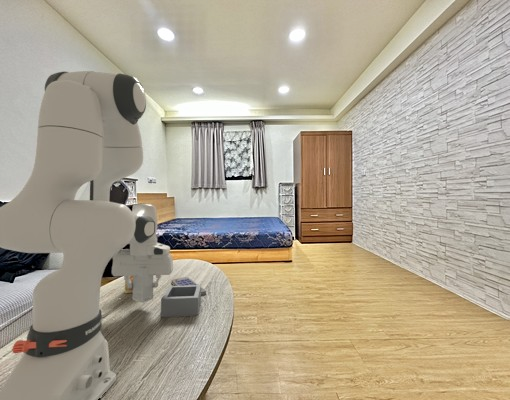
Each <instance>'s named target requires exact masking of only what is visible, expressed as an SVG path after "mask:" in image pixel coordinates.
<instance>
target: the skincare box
mask: <svg viewBox="0 0 510 400" xmlns="http://www.w3.org/2000/svg"><path fill="white" fill-rule="evenodd" d="M153 282H154V275H149V274H148V267H139V275H138V276H133V292H132V300H133V301H136V302H139V303H142V304H144V303H146V302H149V301H151V300H153V299H154V288H153Z"/></svg>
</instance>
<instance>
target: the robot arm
mask: <svg viewBox="0 0 510 400" xmlns="http://www.w3.org/2000/svg"><path fill="white" fill-rule="evenodd" d="M146 97H147V96H146V94H145V90H144V88H143V85H142V84H141V82H140V81H139V80H138V79H137V78H136V77H134V76H133V75H129V74H126V73H117V74H116V73H111V72H110V73H109V72H100V71H98V72H97V71H93V70H87V71H86V70H85V71H84V70H83V71H82V70H81V71H79V70H78V71H71V72H69V71H59V72H55V73H52V74H50V75H49V76H48V77H47V79H46V81H45V84H44V94H43V96H42V99H41V104H40V107H39V114H38V123H37V124H38V125H37V138H36V149H35V157H34V159H35V160H34V165H33V169H32V172H31V174H30V177H29V178H28V180H27V182H26V184H25V185H24V187H23V188H22V189H21V191H20V192H19V193H18V194H17V195H16V196H15V197H14V198H13V199H11V200H10V201H8V202H7V203H5V204H3V205H1V206H0V248H1V249H4V250H9V251H13V252H19V253H27V254H54V253H55V254H56V253H57V254H59V253H61V254H63V257H62V258H63V259H62V263H61V266H60V267H59V268H58V269H57V270H54V271H52V272H50V273H48V274H47V275H46V276H44V277H43V278H41V279H40V280H39V281H38V282H37V284H36V285H35V287H34V288H33V291H32V324H31V325H30V327H29V331H28V333H27V335H26V340H23V339H22V340H17V341H16V342H14V344H13V346H12V348H11V351H12V353H13V354H20V353H23V354H22V356H21V357H20V359H19V361H18V362H17V364H16V365H15V366H14V368H13V369H12V371H11V372H10V374H9V375H8V376H7V379H6V380H5V382H4V383H3V384H2V387H1V388H0V400H98V399H99V398H100V397H101V396H102V395H103V394H104V393H105V392H106V393H107V391H109V389H110V388H111V387H112V386H113V384H114V383H115V382H116V380H117V375H116V373H115V372H114V371H112V370H111V367H110V356H109V355H110V354H109V353H110V352H109V343H108V341H107V339H106V337H104V335H103V333H102V331H101V330H102V326H103V324H102V323H103V322H102V321H103V315H102V310H101V309H100V298H101V297H100V295H101V284H102V279H103V274H104V272H105V269H106V267H107V265H108V263H109V262H110V261H111V260H112V266H111V275H112V276H113V277H123V280H124V282H125V281H126V283H127V284H128V286H127V288H133V282H131V280H130V279H129V278H130V277H131V276H138V275H139V267H148V274H149V275H153V276H155V279H156V281H154V280H153V289H155V288H156V289H157V288H158V287H159V281H160V279H161V278H162V276H170V275H171V274H172V273H173V272H174V259H173V256H172V254H171V252H170V251H171V247H170V246H169V245H166V244H163V243H160V242H158V237H157V231H158V213H157V208H156V206H155V205H153V204H151V203H135V204H133V205H132V208H131V209H132V210H131V209H130V207H128V206H127V205H126V204H123V203H118V202H114V201H110V196H111V195H110V193H111V187H112V185H113V184H114V183H115V182H117V181H119V180H122V179H124V178H125V179H126V178H127V177H130V176H132V175H134V174H136V173H137V171H139V170H140V168H141V167H142V166H143V164H144V163H143V161H144V152H143V150H144V149H143V141H142V136H141V131H140V127H139V122H138V121H139V119H140V120H141V118H142V117H143V116H144V113H145V112H146V108H147V107H146V106H147V99H146ZM86 183H89V199H88V200H87V199H86V200H85V199H75V198H76V195H77V192H79V191H78V190H80V188H82V186H84V185H85V184H86ZM127 245H129V248H125V247H126V246H127ZM123 248H125V249H123ZM106 393H105V394H106ZM105 394H104V395H105ZM104 395H103V396H104ZM103 396H102V397H103ZM102 397H101V398H102Z"/></svg>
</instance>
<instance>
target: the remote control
mask: <svg viewBox="0 0 510 400" xmlns="http://www.w3.org/2000/svg"><path fill="white" fill-rule="evenodd" d="M172 283H173V284H174V285H175V286H184V285H199V284H198V283H196V282H195V281H194V280H192V279H191V278H189V277H188V276H184V277H179V278H173V279H171V284H172ZM173 284H172V285H173ZM174 285H173V286H174ZM203 294H204V295H207V290H206V289H205V288H203V287H202V286H201V296H203Z"/></svg>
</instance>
